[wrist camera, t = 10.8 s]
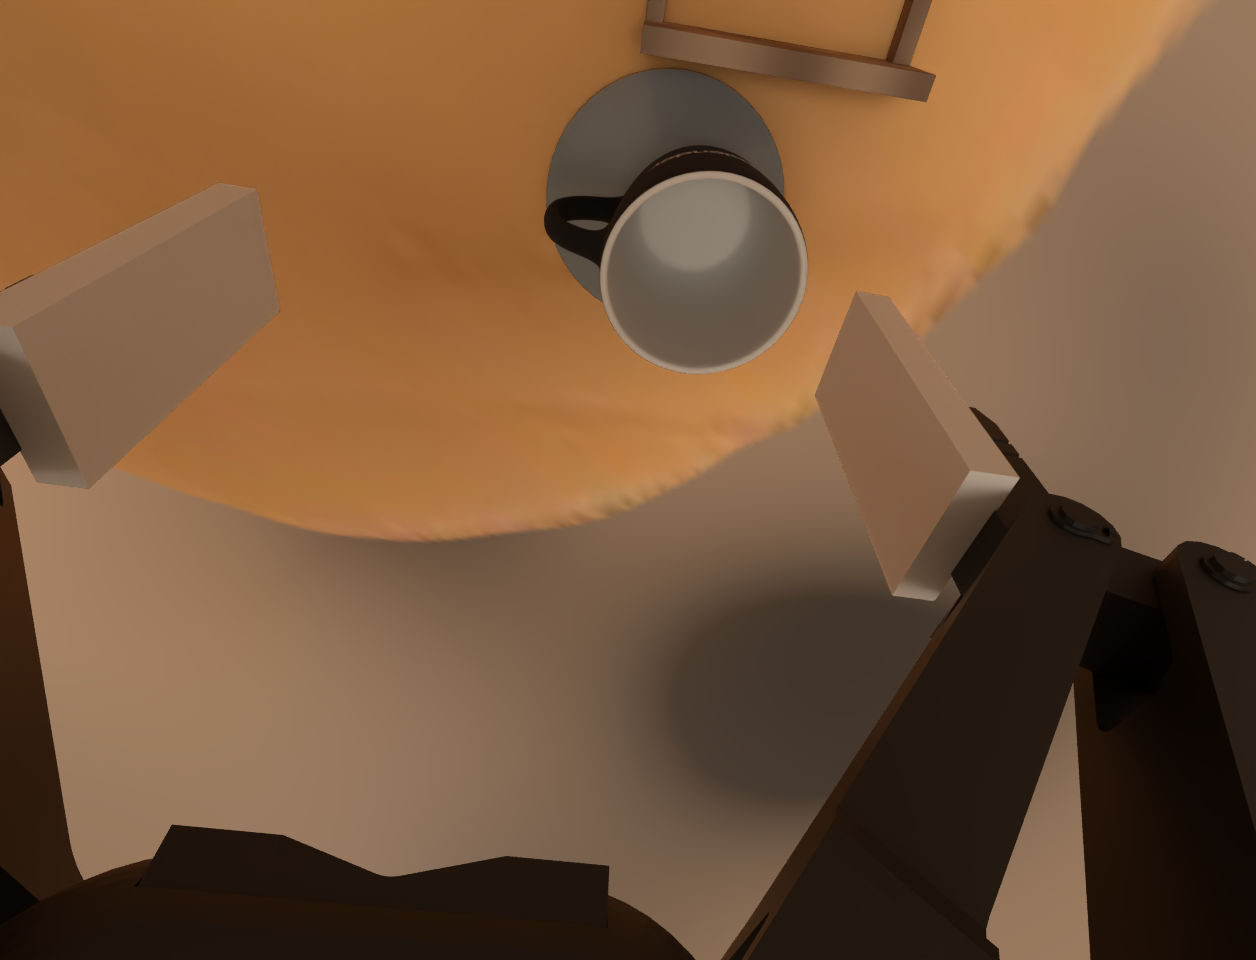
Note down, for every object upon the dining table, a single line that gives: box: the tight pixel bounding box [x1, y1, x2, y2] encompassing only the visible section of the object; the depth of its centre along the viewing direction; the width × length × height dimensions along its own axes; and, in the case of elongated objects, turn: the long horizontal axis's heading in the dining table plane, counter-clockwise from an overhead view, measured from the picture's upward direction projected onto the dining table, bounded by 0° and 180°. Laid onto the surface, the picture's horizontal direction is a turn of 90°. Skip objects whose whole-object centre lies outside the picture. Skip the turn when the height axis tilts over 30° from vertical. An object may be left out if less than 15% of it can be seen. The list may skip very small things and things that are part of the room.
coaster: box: [547, 68, 784, 302], centre depth 36 cm, size 13×13×1 cm
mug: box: [544, 145, 808, 374], centre depth 31 cm, size 12×9×10 cm
